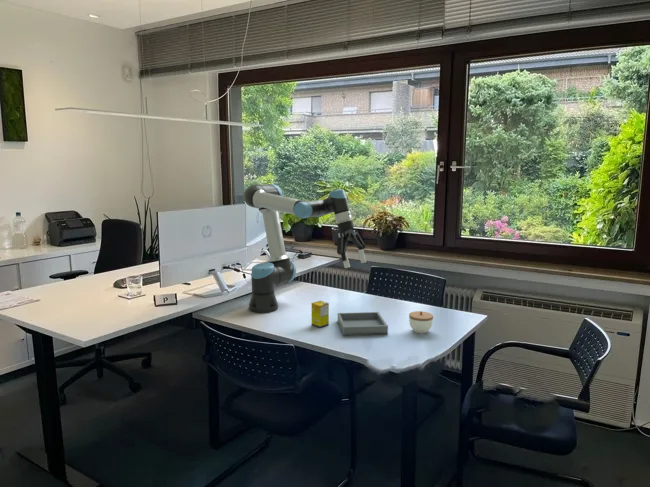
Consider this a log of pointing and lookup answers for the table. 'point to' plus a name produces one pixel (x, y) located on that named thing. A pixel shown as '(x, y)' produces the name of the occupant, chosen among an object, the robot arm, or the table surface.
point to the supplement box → (320, 314)
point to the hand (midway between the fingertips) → (355, 265)
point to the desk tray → (362, 324)
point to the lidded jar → (420, 321)
